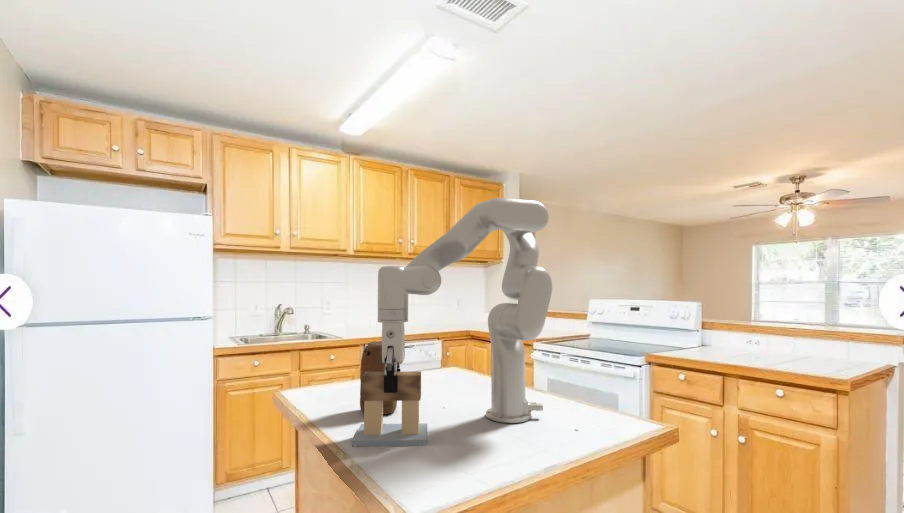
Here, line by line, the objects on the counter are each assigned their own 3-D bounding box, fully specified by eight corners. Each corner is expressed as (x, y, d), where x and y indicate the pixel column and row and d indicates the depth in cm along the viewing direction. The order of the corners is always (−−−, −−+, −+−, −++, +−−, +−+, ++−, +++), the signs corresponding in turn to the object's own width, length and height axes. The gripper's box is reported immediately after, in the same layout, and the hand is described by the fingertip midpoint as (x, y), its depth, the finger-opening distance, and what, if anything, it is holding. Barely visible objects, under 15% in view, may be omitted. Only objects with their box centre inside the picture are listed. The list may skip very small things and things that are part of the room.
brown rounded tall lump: (399, 408, 132) (400, 341, 133) (393, 416, 125) (394, 344, 126) (364, 407, 133) (365, 340, 134) (356, 415, 126) (357, 343, 127)
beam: (421, 395, 111) (421, 371, 112) (420, 400, 107) (420, 375, 107) (364, 396, 111) (365, 371, 111) (361, 400, 106) (362, 375, 107)
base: (427, 428, 114) (427, 391, 115) (426, 445, 102) (426, 404, 103) (361, 428, 114) (361, 392, 114) (352, 446, 102) (352, 405, 102)
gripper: (405, 318, 101) (405, 397, 100) (410, 313, 119) (409, 380, 118) (372, 318, 101) (371, 397, 100) (382, 313, 118) (381, 380, 117)
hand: (392, 388), depth 109 cm, fingers open, 7 cm apart
